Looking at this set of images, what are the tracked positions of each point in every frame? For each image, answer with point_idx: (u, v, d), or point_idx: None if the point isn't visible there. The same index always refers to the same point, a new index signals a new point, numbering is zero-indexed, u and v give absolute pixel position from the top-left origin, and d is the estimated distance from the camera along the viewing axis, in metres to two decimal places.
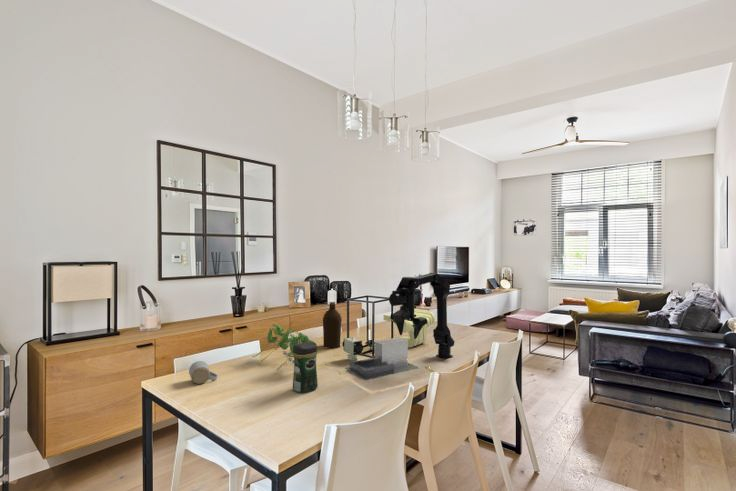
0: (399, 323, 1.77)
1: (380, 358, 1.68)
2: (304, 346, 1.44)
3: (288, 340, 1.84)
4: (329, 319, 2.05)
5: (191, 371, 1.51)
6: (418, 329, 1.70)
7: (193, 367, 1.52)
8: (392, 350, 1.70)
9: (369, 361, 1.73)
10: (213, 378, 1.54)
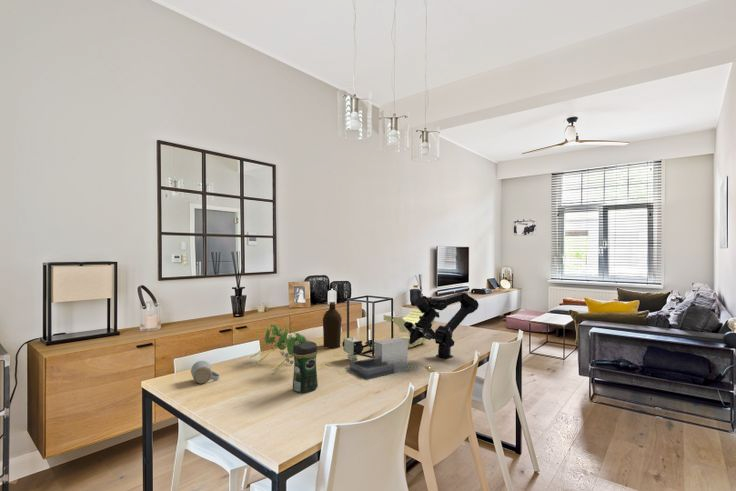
0: None
1: (380, 358, 1.68)
2: (304, 346, 1.44)
3: (286, 340, 1.83)
4: (329, 319, 2.05)
5: (193, 371, 1.52)
6: None
7: (195, 367, 1.52)
8: (392, 350, 1.70)
9: (369, 361, 1.73)
10: (215, 378, 1.54)
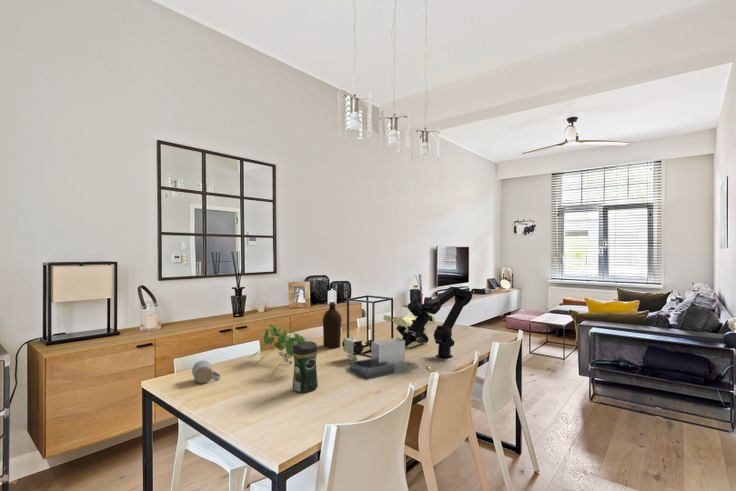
0: None
1: (377, 359, 1.67)
2: (304, 346, 1.44)
3: (285, 341, 1.83)
4: (329, 319, 2.05)
5: (194, 371, 1.52)
6: None
7: (196, 367, 1.53)
8: (389, 351, 1.69)
9: (369, 361, 1.73)
10: (216, 378, 1.55)
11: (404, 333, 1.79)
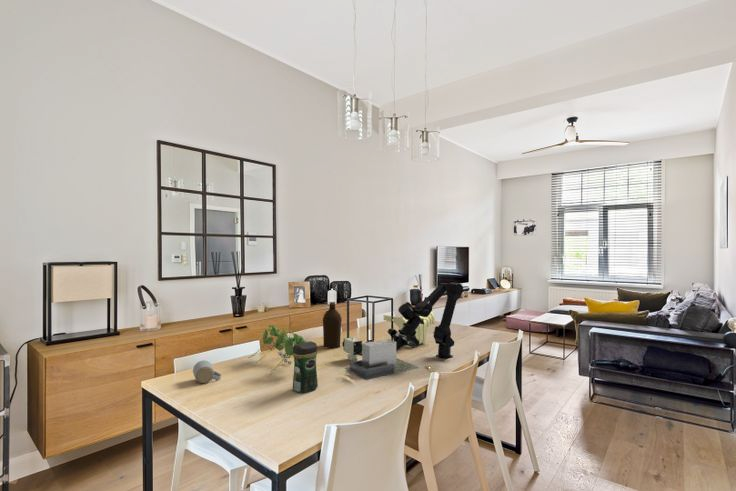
0: None
1: (367, 360, 1.64)
2: (304, 346, 1.44)
3: (284, 341, 1.83)
4: (329, 319, 2.05)
5: (195, 370, 1.52)
6: None
7: (197, 367, 1.53)
8: (380, 353, 1.66)
9: None
10: (217, 377, 1.55)
11: (395, 337, 1.76)
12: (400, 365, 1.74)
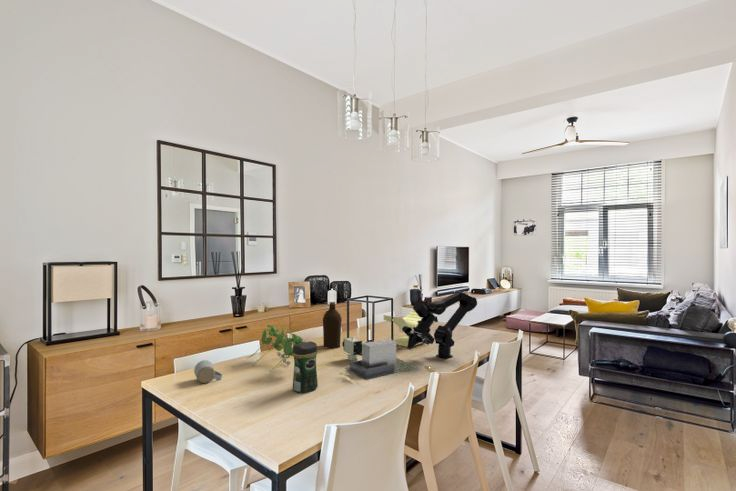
0: None
1: (367, 360, 1.64)
2: (304, 346, 1.44)
3: (283, 341, 1.82)
4: (329, 319, 2.05)
5: (196, 370, 1.52)
6: None
7: (198, 366, 1.53)
8: (380, 353, 1.66)
9: None
10: (218, 377, 1.55)
11: (410, 334, 1.81)
12: (400, 365, 1.74)
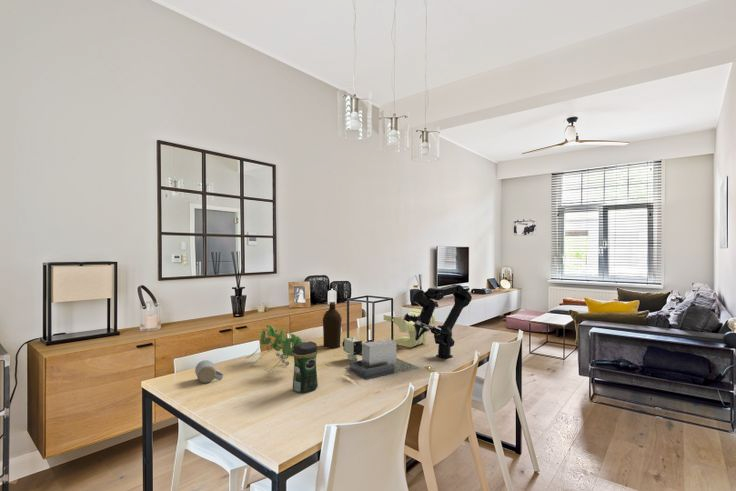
0: (420, 330, 1.81)
1: (367, 360, 1.64)
2: (304, 346, 1.44)
3: (281, 341, 1.82)
4: (329, 319, 2.05)
5: (197, 370, 1.52)
6: (416, 330, 1.79)
7: (199, 366, 1.53)
8: (380, 353, 1.66)
9: None
10: (219, 377, 1.55)
11: (419, 326, 1.78)
12: (400, 365, 1.74)
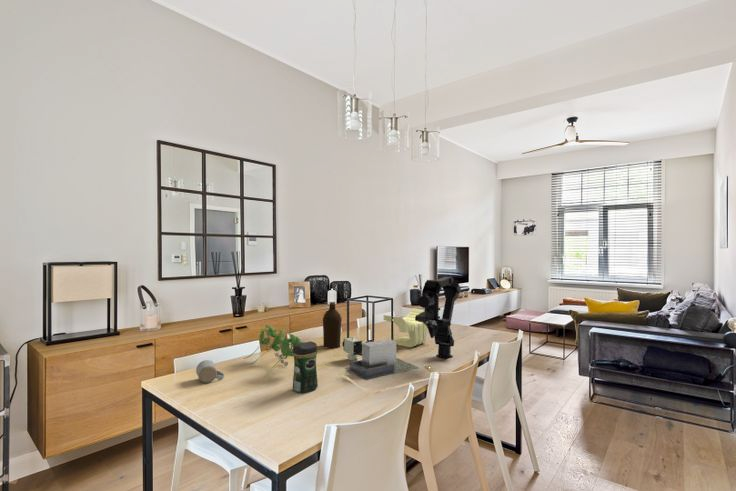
0: None
1: (367, 360, 1.64)
2: (304, 346, 1.44)
3: (280, 342, 1.81)
4: (329, 319, 2.05)
5: (198, 370, 1.53)
6: (435, 329, 1.79)
7: (200, 366, 1.53)
8: (380, 353, 1.66)
9: None
10: (220, 377, 1.55)
11: None
12: (400, 365, 1.74)
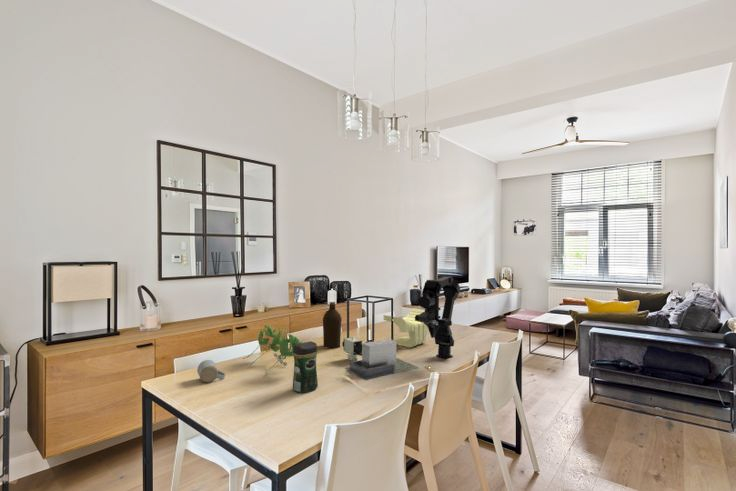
0: (430, 326, 1.79)
1: (367, 360, 1.64)
2: (304, 346, 1.44)
3: (279, 342, 1.81)
4: (329, 319, 2.05)
5: (199, 370, 1.53)
6: (435, 328, 1.79)
7: (201, 366, 1.54)
8: (380, 353, 1.66)
9: None
10: (221, 377, 1.56)
11: None
12: (400, 365, 1.74)
